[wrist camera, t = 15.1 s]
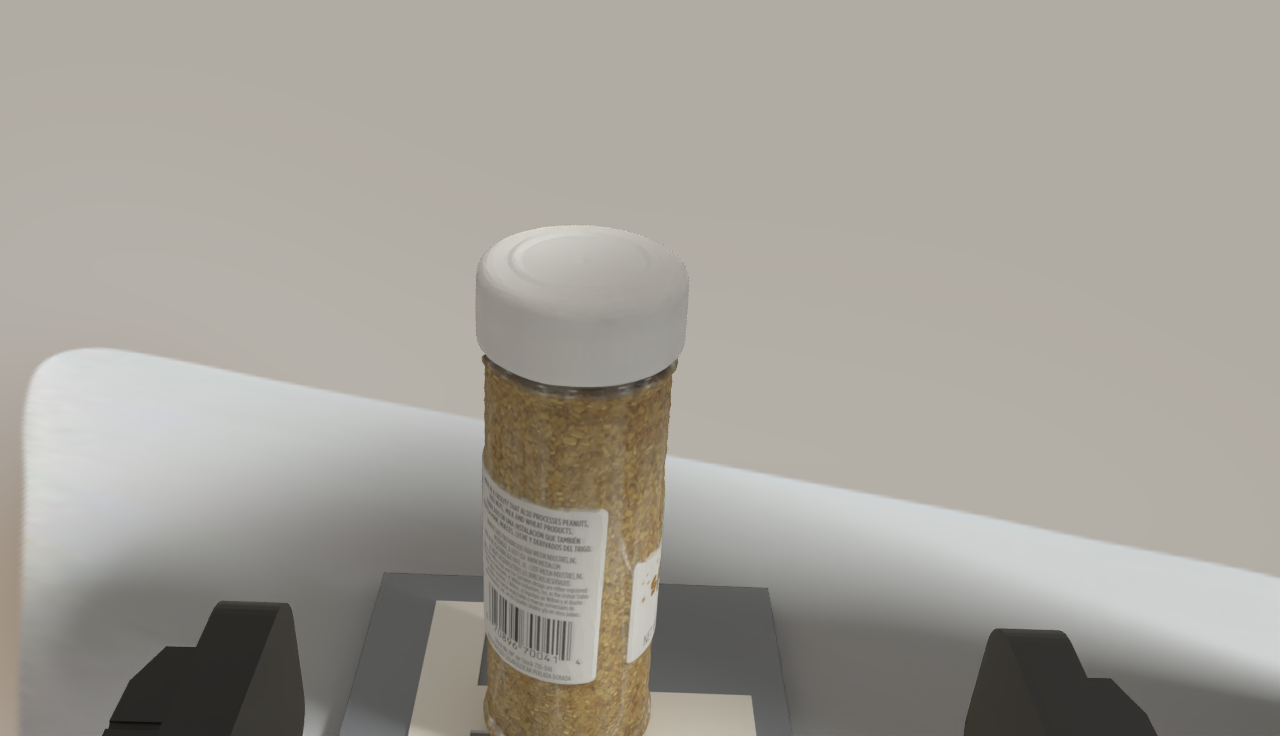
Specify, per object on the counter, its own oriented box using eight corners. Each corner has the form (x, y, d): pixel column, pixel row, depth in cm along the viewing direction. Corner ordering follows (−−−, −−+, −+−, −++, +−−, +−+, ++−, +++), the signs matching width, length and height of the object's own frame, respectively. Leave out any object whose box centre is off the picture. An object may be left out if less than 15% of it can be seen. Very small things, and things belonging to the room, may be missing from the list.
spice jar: (684, 725, 31) (736, 270, 24) (549, 814, 28) (567, 328, 21) (577, 632, 34) (597, 202, 27) (445, 704, 31) (432, 245, 24)
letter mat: (765, 602, 36) (768, 585, 36) (816, 918, 27) (820, 899, 26) (385, 587, 36) (384, 570, 35) (298, 904, 26) (295, 884, 26)
